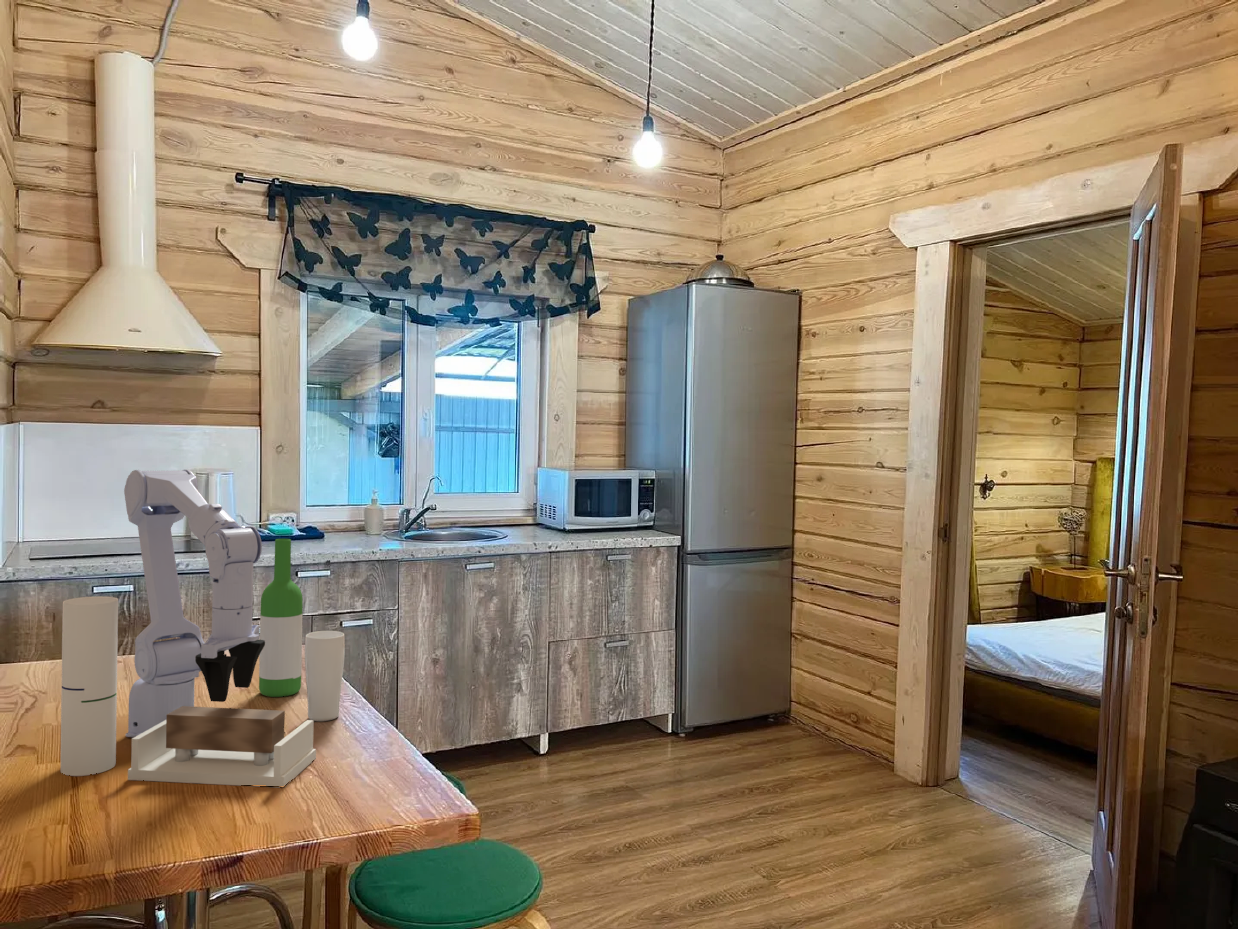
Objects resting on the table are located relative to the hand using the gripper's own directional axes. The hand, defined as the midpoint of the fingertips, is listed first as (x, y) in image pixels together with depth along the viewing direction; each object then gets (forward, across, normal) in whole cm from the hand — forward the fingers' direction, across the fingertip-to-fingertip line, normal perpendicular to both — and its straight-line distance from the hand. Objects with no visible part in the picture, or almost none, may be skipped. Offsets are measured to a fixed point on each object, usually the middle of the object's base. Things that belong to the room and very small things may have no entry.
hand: (230, 693), depth 140 cm
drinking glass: (+11, +22, -6) cm, 26 cm away
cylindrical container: (+11, -6, +19) cm, 22 cm away
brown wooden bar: (+7, -4, -1) cm, 8 cm away
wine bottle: (+11, +36, +8) cm, 39 cm away
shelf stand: (+10, -4, -1) cm, 11 cm away
